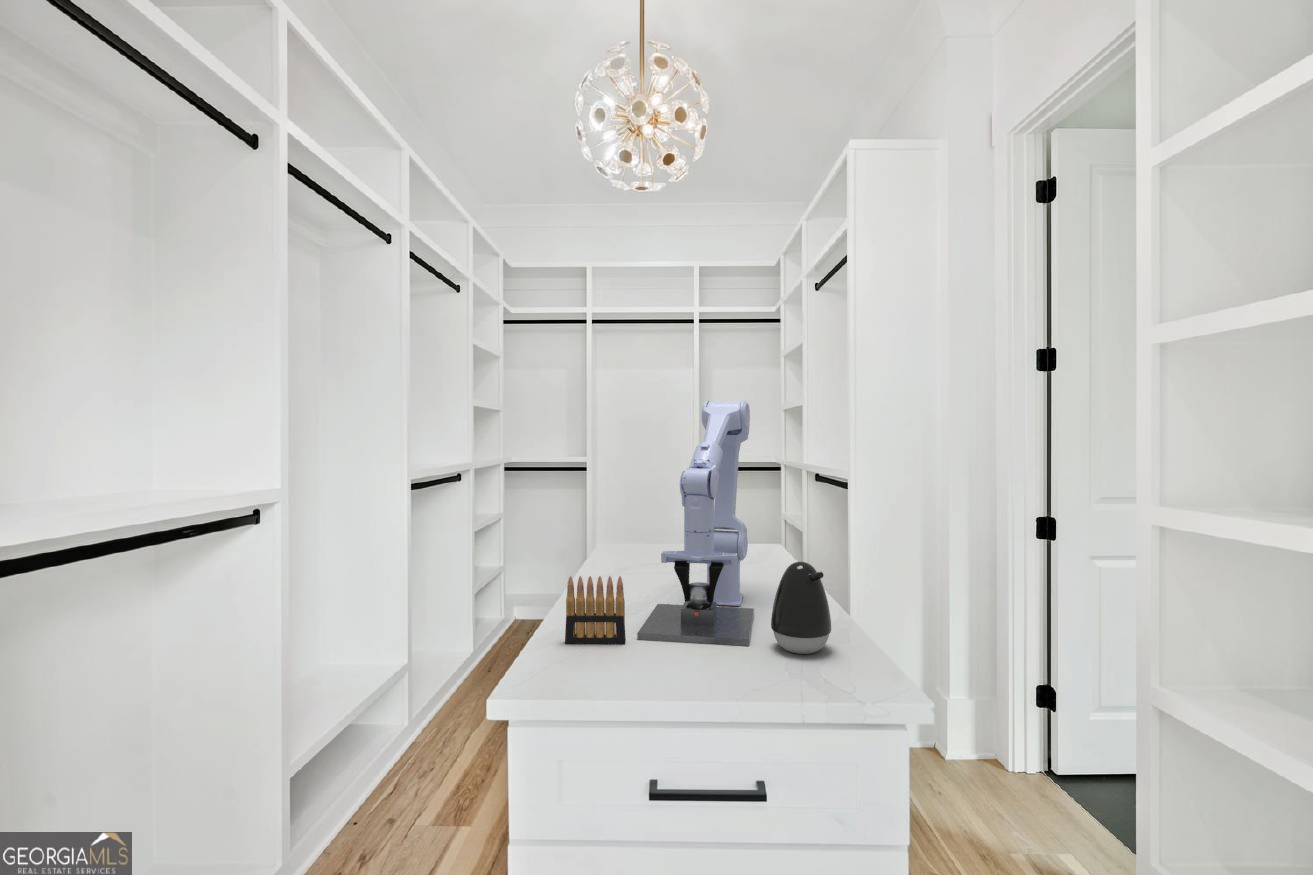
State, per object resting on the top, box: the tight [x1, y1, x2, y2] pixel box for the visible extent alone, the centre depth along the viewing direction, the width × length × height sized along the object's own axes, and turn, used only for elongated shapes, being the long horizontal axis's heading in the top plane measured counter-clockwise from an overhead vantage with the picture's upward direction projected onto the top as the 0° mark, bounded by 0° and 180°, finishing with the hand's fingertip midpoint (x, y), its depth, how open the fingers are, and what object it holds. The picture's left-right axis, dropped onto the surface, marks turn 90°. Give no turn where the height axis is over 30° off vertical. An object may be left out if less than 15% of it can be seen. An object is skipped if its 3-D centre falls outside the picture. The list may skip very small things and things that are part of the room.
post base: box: [636, 600, 755, 647], centre depth 130 cm, size 20×20×4 cm
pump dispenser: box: [770, 561, 832, 655], centre depth 116 cm, size 10×10×15 cm
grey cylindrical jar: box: [689, 581, 710, 609], centre depth 130 cm, size 4×4×6 cm
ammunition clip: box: [564, 575, 627, 646], centre depth 120 cm, size 11×2×12 cm, turn 90°
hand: (699, 600), depth 130 cm, fingers closed on grey cylindrical jar, 4 cm apart
